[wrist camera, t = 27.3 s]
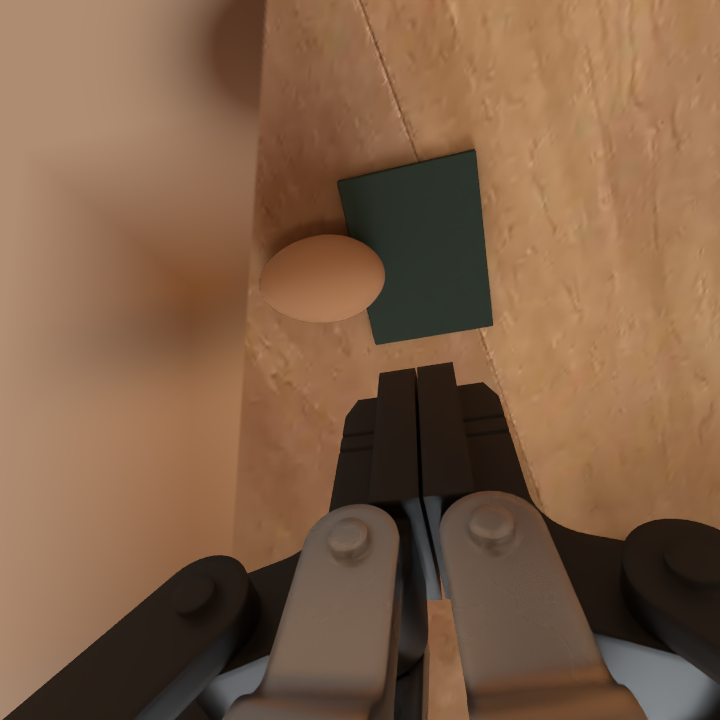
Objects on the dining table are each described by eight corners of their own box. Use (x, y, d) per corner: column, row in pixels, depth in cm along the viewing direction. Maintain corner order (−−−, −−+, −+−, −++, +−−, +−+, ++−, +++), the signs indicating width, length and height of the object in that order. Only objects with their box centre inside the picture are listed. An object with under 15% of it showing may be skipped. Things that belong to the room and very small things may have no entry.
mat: (337, 180, 28) (336, 182, 27) (474, 149, 26) (475, 149, 26) (376, 342, 33) (375, 345, 33) (492, 322, 32) (493, 326, 31)
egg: (373, 206, 26) (247, 227, 28) (369, 289, 24) (233, 304, 26) (395, 258, 30) (285, 273, 33) (393, 331, 28) (276, 341, 31)
